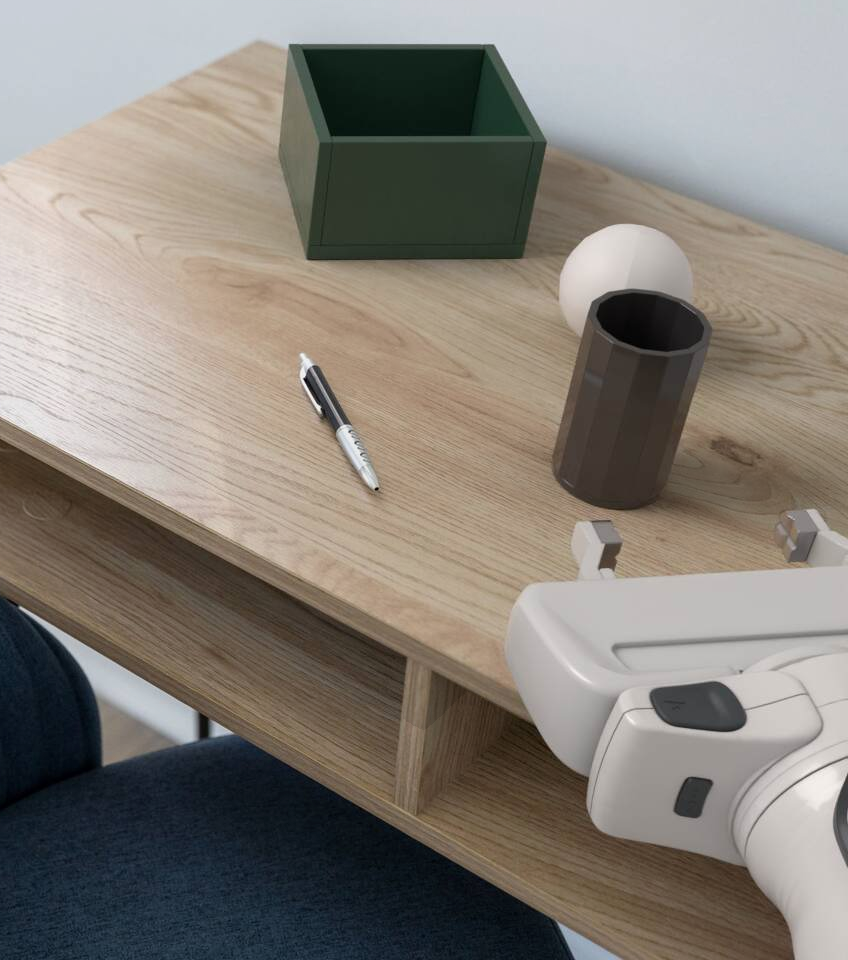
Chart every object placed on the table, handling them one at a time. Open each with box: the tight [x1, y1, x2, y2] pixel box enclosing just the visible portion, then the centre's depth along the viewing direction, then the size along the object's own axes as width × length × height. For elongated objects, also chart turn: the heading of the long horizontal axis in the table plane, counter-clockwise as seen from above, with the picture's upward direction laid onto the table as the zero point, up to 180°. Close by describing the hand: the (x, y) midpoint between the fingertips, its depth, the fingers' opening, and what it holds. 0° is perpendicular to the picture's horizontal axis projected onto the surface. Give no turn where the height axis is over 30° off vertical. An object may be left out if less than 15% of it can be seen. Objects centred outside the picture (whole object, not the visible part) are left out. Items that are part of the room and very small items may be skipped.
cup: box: [551, 288, 714, 510], centre depth 81 cm, size 6×6×10 cm
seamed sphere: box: [558, 223, 721, 339], centre depth 91 cm, size 10×7×7 cm
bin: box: [277, 43, 548, 260], centre depth 103 cm, size 14×14×8 cm
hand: (691, 525), depth 72 cm, fingers open, 8 cm apart
